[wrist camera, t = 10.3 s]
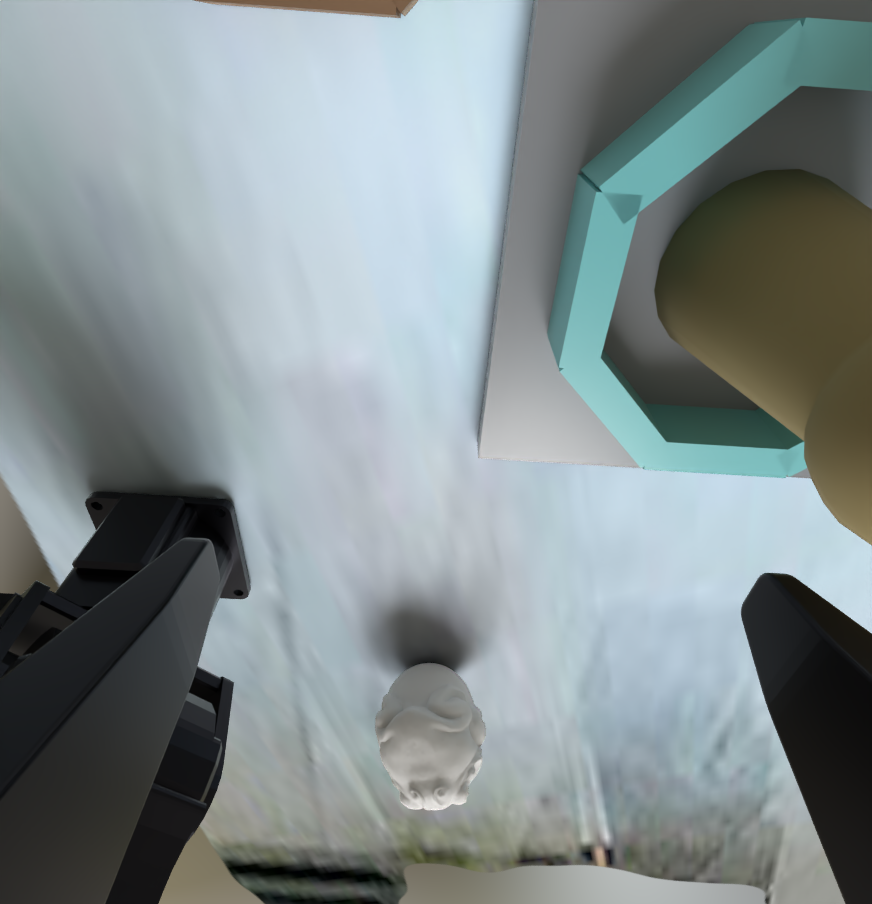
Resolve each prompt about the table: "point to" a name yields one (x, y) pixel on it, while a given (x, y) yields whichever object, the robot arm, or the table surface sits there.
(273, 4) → the walnut ring
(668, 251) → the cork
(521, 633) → the table surface
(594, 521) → the table surface
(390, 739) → the frog figurine
